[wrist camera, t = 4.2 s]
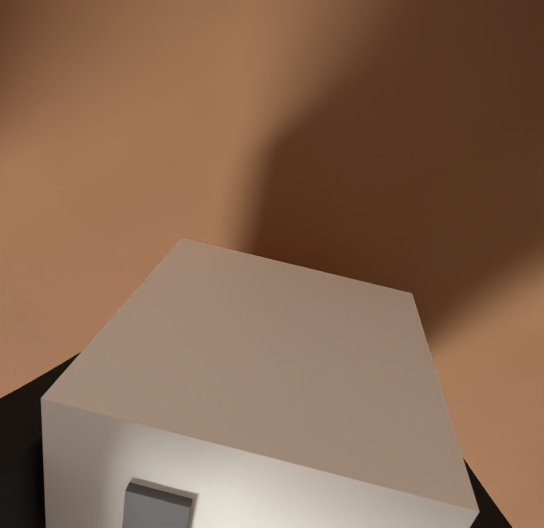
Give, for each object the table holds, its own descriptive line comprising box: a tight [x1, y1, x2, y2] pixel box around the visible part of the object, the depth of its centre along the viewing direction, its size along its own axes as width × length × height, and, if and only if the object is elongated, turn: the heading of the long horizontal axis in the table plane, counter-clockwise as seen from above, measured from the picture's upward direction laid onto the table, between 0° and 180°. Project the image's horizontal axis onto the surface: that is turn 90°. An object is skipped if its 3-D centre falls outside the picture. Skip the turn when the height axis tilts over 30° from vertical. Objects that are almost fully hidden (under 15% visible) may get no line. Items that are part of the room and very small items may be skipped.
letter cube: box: [41, 238, 480, 528], centre depth 8 cm, size 5×5×5 cm
